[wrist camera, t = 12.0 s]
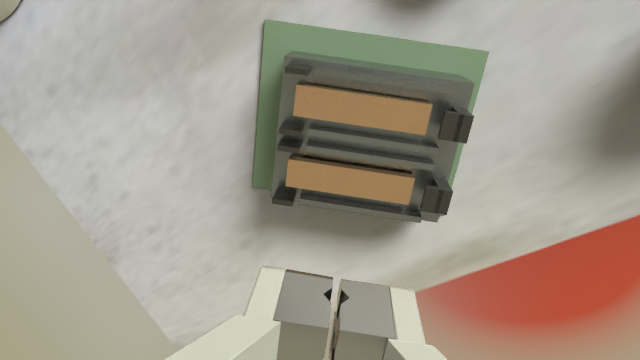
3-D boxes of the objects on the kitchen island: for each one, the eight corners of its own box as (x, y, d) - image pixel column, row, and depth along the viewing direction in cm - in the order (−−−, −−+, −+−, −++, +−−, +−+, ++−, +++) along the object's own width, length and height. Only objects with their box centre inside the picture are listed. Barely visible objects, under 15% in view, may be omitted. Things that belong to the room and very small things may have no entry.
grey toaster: (279, 178, 47) (265, 209, 40) (292, 50, 42) (279, 59, 35) (429, 201, 47) (442, 236, 40) (461, 75, 42) (484, 89, 34)
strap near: (294, 113, 39) (293, 115, 38) (297, 82, 38) (296, 84, 37) (423, 132, 39) (425, 135, 38) (430, 102, 37) (432, 104, 37)
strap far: (286, 182, 42) (285, 186, 41) (289, 155, 40) (288, 159, 40) (407, 200, 41) (408, 204, 40) (413, 174, 40) (415, 178, 39)
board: (253, 184, 49) (252, 186, 48) (266, 19, 42) (264, 19, 41) (442, 213, 48) (443, 215, 48) (487, 51, 41) (489, 52, 41)
